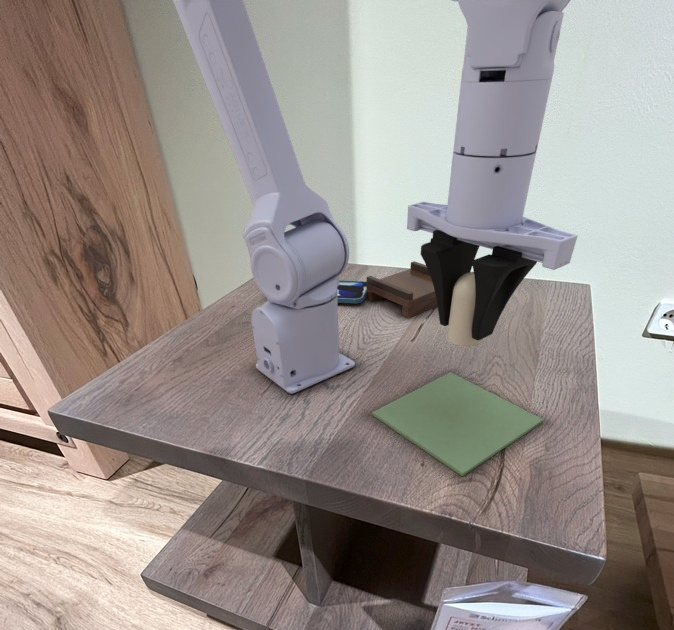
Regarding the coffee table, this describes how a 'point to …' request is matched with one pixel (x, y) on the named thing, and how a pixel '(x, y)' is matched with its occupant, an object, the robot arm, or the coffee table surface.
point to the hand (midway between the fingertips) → (465, 329)
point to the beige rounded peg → (462, 312)
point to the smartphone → (351, 291)
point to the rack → (405, 289)
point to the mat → (457, 421)
